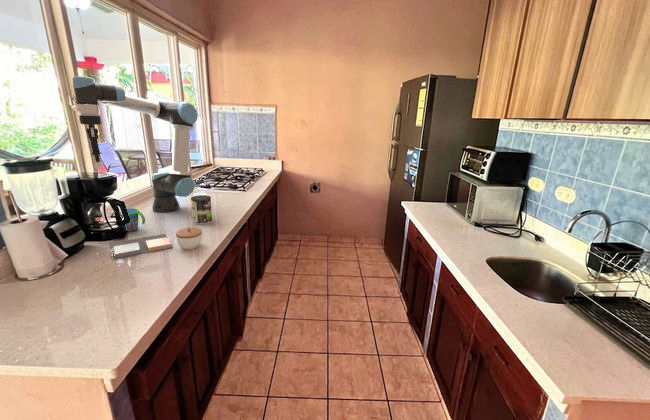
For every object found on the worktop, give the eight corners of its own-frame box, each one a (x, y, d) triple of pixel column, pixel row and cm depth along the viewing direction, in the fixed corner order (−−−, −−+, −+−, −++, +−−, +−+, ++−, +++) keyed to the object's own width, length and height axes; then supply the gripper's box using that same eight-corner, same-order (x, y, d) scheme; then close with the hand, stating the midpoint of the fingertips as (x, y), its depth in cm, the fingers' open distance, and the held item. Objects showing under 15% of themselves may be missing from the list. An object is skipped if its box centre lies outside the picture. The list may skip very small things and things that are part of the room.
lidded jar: (178, 254, 132) (175, 234, 129) (176, 244, 141) (174, 225, 138) (204, 250, 137) (202, 230, 134) (201, 241, 146) (200, 223, 143)
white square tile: (113, 246, 131) (114, 254, 124) (137, 242, 136) (140, 249, 129) (114, 250, 131) (115, 258, 125) (138, 246, 137) (140, 253, 130)
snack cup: (107, 233, 150) (103, 213, 147) (120, 226, 160) (117, 207, 157) (138, 234, 150) (135, 215, 147) (150, 227, 160) (148, 208, 157)
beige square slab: (145, 240, 138) (148, 247, 131) (167, 237, 143) (171, 243, 136) (146, 244, 138) (148, 252, 131) (167, 240, 143) (171, 247, 136)
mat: (109, 243, 138) (109, 243, 138) (165, 234, 152) (165, 233, 151) (111, 261, 123) (111, 260, 123) (173, 249, 136) (173, 248, 136)
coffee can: (216, 219, 176) (214, 196, 172) (205, 225, 166) (204, 200, 162) (200, 217, 178) (198, 194, 174) (189, 223, 168) (186, 198, 164)
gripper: (79, 114, 135) (89, 167, 142) (78, 114, 125) (88, 171, 132) (99, 114, 140) (108, 166, 147) (100, 115, 130) (109, 170, 137)
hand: (99, 168), depth 139 cm, fingers closed
